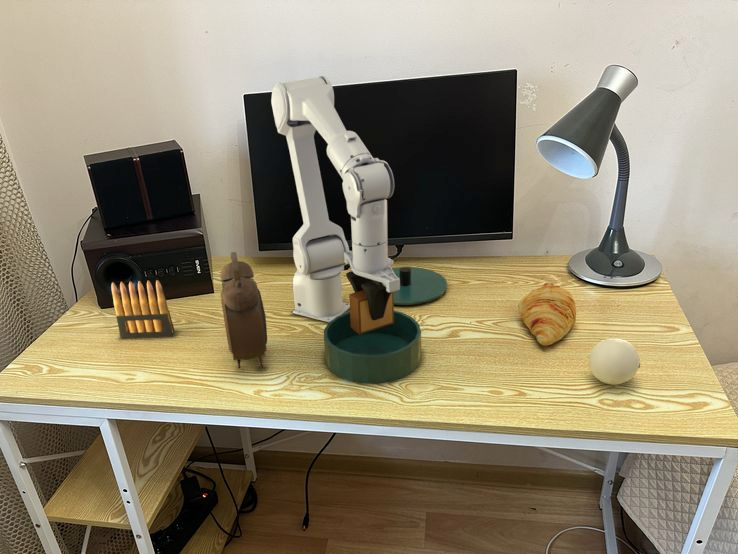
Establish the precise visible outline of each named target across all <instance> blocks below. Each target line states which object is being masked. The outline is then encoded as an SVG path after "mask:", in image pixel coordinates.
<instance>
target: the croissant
mask: <svg viewBox="0 0 738 554" xmlns="http://www.w3.org/2000/svg"><path fill="white" fill-rule="evenodd" d="M517 312H518V314H519V316H521V321H522V322H523V324H525V326H526V327H527V328H528V329H529V332H530V333H531V334H532V335H533V336H534V337H535V338H536V342H538V343H539V344H540V345H542V346H550V345H553V344H555V343H556V342H558V341H560V340H561V339H563V337H565V336H566V335H567V334H568V333H569V332H570V330H571V329H573V328H574V327H575V325H576V322H577V321H576V320H577V306H576V301H575V299H574V297H573V294H571V293H570V291H568V290H567V289H566V288H563V287H561V286H560V285H555V284H554V283H549V282H546V283H544V284H543V285H542V286H541V287H538V288H535V289H533V290H532V291H530V292H529V293H528V294H526V295H524V296H523V297H522V298H521V300H520V301H519V302H518V304H517Z"/></svg>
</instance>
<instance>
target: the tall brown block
mask: <svg viewBox="0 0 738 554" xmlns="http://www.w3.org/2000/svg"><path fill="white" fill-rule="evenodd" d="M348 300H349V301H348V303H349V304H350V308H349V312H350V322H351V328H352V329H353V330H354V331H356V332H357V333H358V334H359V335H360V334H363V333H366V332H369V331H372V330H375V329H378V328H381V327H384V326H387V325H390V324H393V323H394V310H395V304H394V292H392V293H391V295H390V297H389V300H388V302H387V306H386V310H385V313H384V317H383V318H380V319H377V320H372V319H371V316H370V311H369V304H368V300H367V296H366V294H365V291H364V290H362V291H359V292H352V293H349V294H348Z"/></svg>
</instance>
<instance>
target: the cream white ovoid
mask: <svg viewBox="0 0 738 554" xmlns="http://www.w3.org/2000/svg"><path fill="white" fill-rule="evenodd" d="M640 367H641V362H640V355H639V352H638V350H637V349H636V348H635V346H634V345H633V344H631V342H629V341H628V340H624V339H621V338H617V337H616V338H615V337H611V338H605V339H603V340H600V341H599V342H597V343H596V344H595V345H594V346H593V347H592V349H591V350H590V353H589V355H588V368H589V370H590V372H591V374H592V375H593V376H594V378H596V379H597V380H598V381H600V382H601V383H603V384H606V385H613V386H615V385H621V384H624V383H627V382H629V381H630V380H632V378H634V377H635V376H636V374H637V372H638V371H639V370H638V369H640Z"/></svg>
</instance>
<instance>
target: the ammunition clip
mask: <svg viewBox="0 0 738 554" xmlns="http://www.w3.org/2000/svg"><path fill="white" fill-rule="evenodd" d="M128 289H129V290H127V287H126V285H125V284H124V282H123V281H120V284H119V290H120V293H119V290H118V287H117V285H116V284H115V282H114V281H112V282H111V294H112V299H113V306H114V310H115V314H116V315H115V317H116V321H117V326H118V331H119V336H120V339H121V340H122V339H123V340H124V339H148V338H150V339H151V338H173V337H174V336H175V333H176V331H175V326H174V323H173V320H172V316H171V312H170V309H169V307H168V303H167V298H166V297H165V293H164V290H163V285H162V284H161V282H160V281H159V279H156V280H155V289H156V294H155V291H154V287H153V285H152V283H151V281H150V280H147V282H146V290H147V293H146V291H145V288H144V285H143V283H142V282H141V280H138V281H137V290H138V294H137V290H136V287H135V285H134V283H133V282H132V281H131V280H130V281H129V283H128ZM128 291H129V292H128ZM138 296H139V297H138Z"/></svg>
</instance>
